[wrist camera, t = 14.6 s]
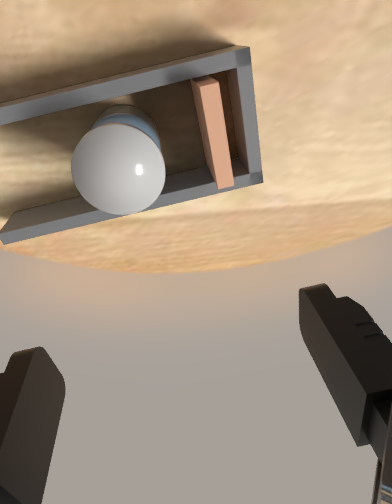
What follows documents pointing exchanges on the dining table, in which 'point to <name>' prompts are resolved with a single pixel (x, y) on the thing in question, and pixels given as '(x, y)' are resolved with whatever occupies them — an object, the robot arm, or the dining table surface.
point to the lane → (175, 185)
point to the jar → (120, 162)
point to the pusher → (213, 129)
